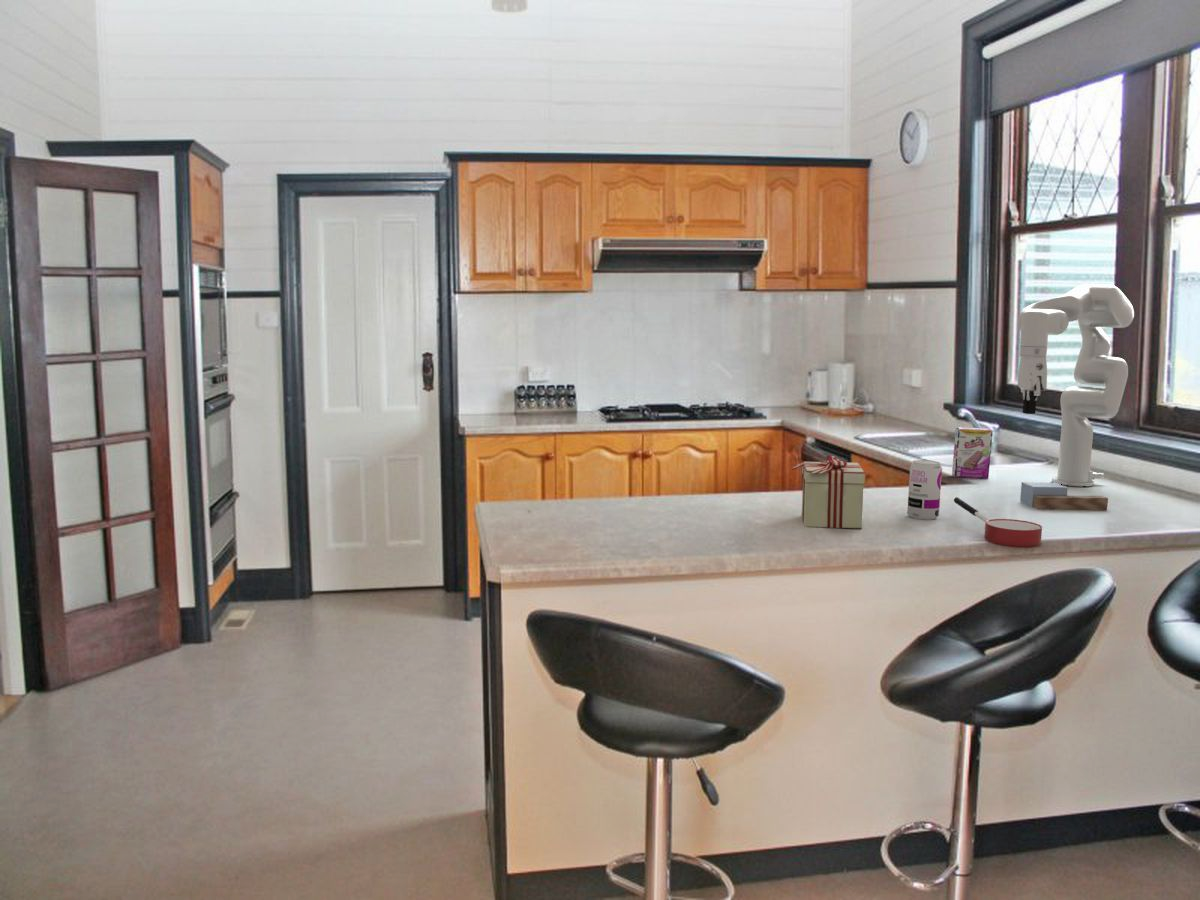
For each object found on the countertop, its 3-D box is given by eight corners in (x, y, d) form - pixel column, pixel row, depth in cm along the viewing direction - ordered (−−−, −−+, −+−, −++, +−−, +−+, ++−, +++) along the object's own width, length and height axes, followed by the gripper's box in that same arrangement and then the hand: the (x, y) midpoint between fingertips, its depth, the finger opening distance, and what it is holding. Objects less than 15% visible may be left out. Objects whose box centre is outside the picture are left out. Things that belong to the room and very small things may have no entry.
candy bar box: (954, 477, 362) (958, 428, 359) (951, 475, 366) (954, 426, 364) (989, 479, 360) (993, 429, 358) (985, 476, 365) (989, 428, 363)
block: (1053, 502, 322) (1054, 482, 321) (1065, 508, 314) (1067, 487, 313) (1020, 502, 321) (1021, 482, 321) (1031, 507, 314) (1033, 486, 313)
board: (1100, 507, 314) (1101, 495, 314) (1106, 510, 311) (1108, 498, 310) (1033, 507, 313) (1033, 495, 313) (1038, 509, 310) (1039, 497, 309)
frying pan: (926, 522, 289) (927, 498, 288) (967, 519, 293) (968, 496, 293) (1008, 549, 259) (1010, 523, 258) (1052, 546, 264) (1054, 520, 263)
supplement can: (939, 515, 297) (942, 461, 295) (937, 521, 290) (941, 465, 288) (908, 513, 300) (911, 459, 298) (906, 518, 292) (909, 463, 290)
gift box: (785, 515, 293) (788, 451, 290) (854, 517, 292) (858, 453, 290) (794, 529, 276) (798, 461, 274) (868, 531, 276) (872, 463, 273)
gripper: (1057, 354, 319) (1052, 416, 321) (1034, 350, 333) (1029, 410, 336) (1032, 354, 318) (1027, 416, 321) (1010, 350, 333) (1006, 410, 336)
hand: (1028, 413), depth 329 cm, fingers closed
